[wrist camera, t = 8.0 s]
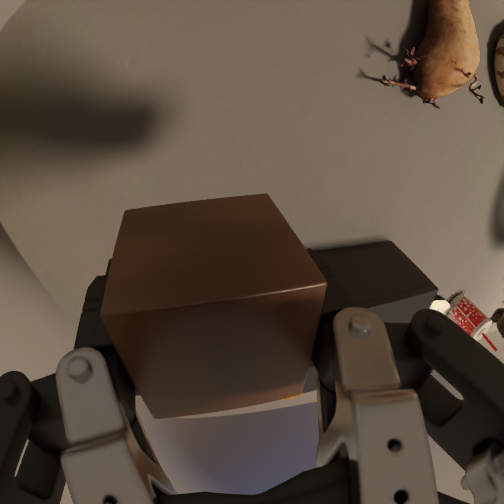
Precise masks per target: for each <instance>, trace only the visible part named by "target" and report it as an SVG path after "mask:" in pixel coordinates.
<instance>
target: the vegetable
mask: <svg viewBox="0 0 504 504" xmlns="http://www.w3.org/2000/svg"><path fill="white" fill-rule="evenodd" d="M426 27H427V32H426V35H425V38H424V39H423V41H422V42H421V44H420V46H419V47H418V49H417V51H416V53H415V55H414V56H413V54H414V50H415V47H414V48H413V49H412V50H411V51H410V54H411V55H412V56H409V55H408V52H407V54H406V55H404V56H403V60H405V62H404V63H406V62H407V63H408V65H406V66H409V65H410V66H412V67H411V69H410V70H412V69H413V74H414V77H415V78H412V77H411V76H410V75H408V74H406V75H405V77H404V82H405V83H398V82H394V81H391V79H390V77H389V81H386V78H385V75H384V76H383V78H382V80H380V83H382V84H384V85H385V86H386V85H387V84H392V85H398V86H401V87H402V91H403V88H404V87H406V88H407V89H408V90H410V92H412V93H414V94H415V95H417V96H419V97H420V98H422V100H423V104H424V103H430V100H432V101H434V103H432V102H431V103H432V105H433V106H434V105H435V106H434V107H436V108H439V107H438V106H437V105H436V103H435V102H436V99H435V98H440V97H444V96H446V95H449V94H451V93H452V92H454V91H456V90H458V89H460V88H461V87H463V86H464V85H465V84H467V83H468V82H469V81H470V80H471V79H472V77H475V81H474V82H473V83H471V84H470V86H469V91H470V92H471V94H472V93H473V94H474V95H475V97H477V96H480V97H481V98H480V99H479V101H480V103H481V104H482V103H483V99H482V98H484V97H483V96H481V95H478V94H476V93H475V92H474V90H476V89H477V88H478V89H480V88H481V85H480V86H478V87H477V88H475V89H471V88H472V87H473V86H474V85H475V84H476V83H477V81H478V77H477V75H476V74H475V71H476V69H477V67H478V64H479V61H480V50H479V43H478V36H477V34H476V29H475V24H474V20H473V17H472V14H471V10H470V7H469V0H430V2H429V7H428V21H427V26H426ZM402 44H403V43H402ZM403 46H404V44H403ZM404 47H405V46H404ZM405 48H406V47H405ZM406 50H407V48H406ZM407 51H408V50H407ZM409 59H411V60H412V61H411V60H409ZM404 63H403V64H404ZM403 64H402V65H401V67H402V66H403ZM383 79H384V80H383ZM387 86H390V85H387ZM472 96H473V95H472ZM477 98H478V97H477ZM431 103H430V104H431ZM439 109H440V108H439Z"/></svg>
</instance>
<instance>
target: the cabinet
mask: <svg viewBox="0 0 504 504" xmlns="http://www.w3.org/2000/svg"><path fill="white" fill-rule="evenodd" d="M316 252H317V253H319V254H320V255H322V256H323V257H324V259H325V260H326V262H327V263H328V264H329V266H330V269H332V270H333V271H334V273H335V274H336V277H338V279H339V280H340V282H341V283H342V284H343V286H344V287H345V289H346V290H347V292H348V293H349V295H350V296H351V297H352V299H353V300H354V302H355V303H356V305H357V306H358V307H361V308H365V309H368V310H371V311H372V312H374V313H376V314H377V315H378V316H379V317H380V318H381V319H382V321H383V322H387V323H410V321H411V319H412V317H413V315H414V314H415V313H416V312H417V311H419V310H421V309H430V307H431V305H432V302H433V300H434V298H435V296H436V294H437V292H438V288H437V287H436V286H435V285H434V284H433V283H432V282H431V280H430V279H429V278H428V277H427V276H426V275H425V274H424V273H423V272H422V271H421V270H420V269H419V268H418V267H417V266H416V265H415V264H414V263H413V262H412V261H411V260H410V259H409V258H408V257H407V256H406V255H405V254H404V253H403V252H402V251H401V250H400V249H399V248H398V247H397V246H396V245H395V244H394V243H393V242H392V241H390V242H383V243H375V244H368V245H360V246H353V247H345V248H338V249H330V250H322V251H316ZM317 377H318V373H317V370H316V368H315V367H311V368H308V372H307V376H306V380H305V384H304V387H303V391H302V394H303V393H307V392H310V391H314V390H317V387H316V381H317Z"/></svg>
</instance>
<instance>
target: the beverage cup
mask: <svg viewBox="0 0 504 504" xmlns="http://www.w3.org/2000/svg"><path fill="white" fill-rule="evenodd" d="M448 312H449V313H450V315H451V316H452V317H453V319H454V320H455V321H456V323H457V324H458V325H459V327H461V328H462V329H463V330H464V331H465V332H467V333H468V334H469V335H470V336H472V337H473V338H474V339H475V340H476V341H479V340H480V339H481V338H482V337H484V338H485V339H486V340H487V342H488V343H489V344H490V345H491V346H492V348H493V349H494V350H495V351H497V349H496V347H495V346H494V345H493V344H492V343H491V341H490V340H489V339H488V338H487V337H486V335H485V334H486V332H487V331H488V330H489V328H490V327H491V325H492V320H491V319H490V318H487V317H486V316H485V315H484V314H483V313H482V312H481V311H480V310H479V309H478V308H477V307H476V306H475V305H474V304H473V303H471V302H470V301H469V300H468V299H467V298H466V297H465V296H464V295H463V294H460V295H458V296H456V297H455V298H454V299H453V300H452V301H451V303H450V309H449V311H448Z"/></svg>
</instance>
